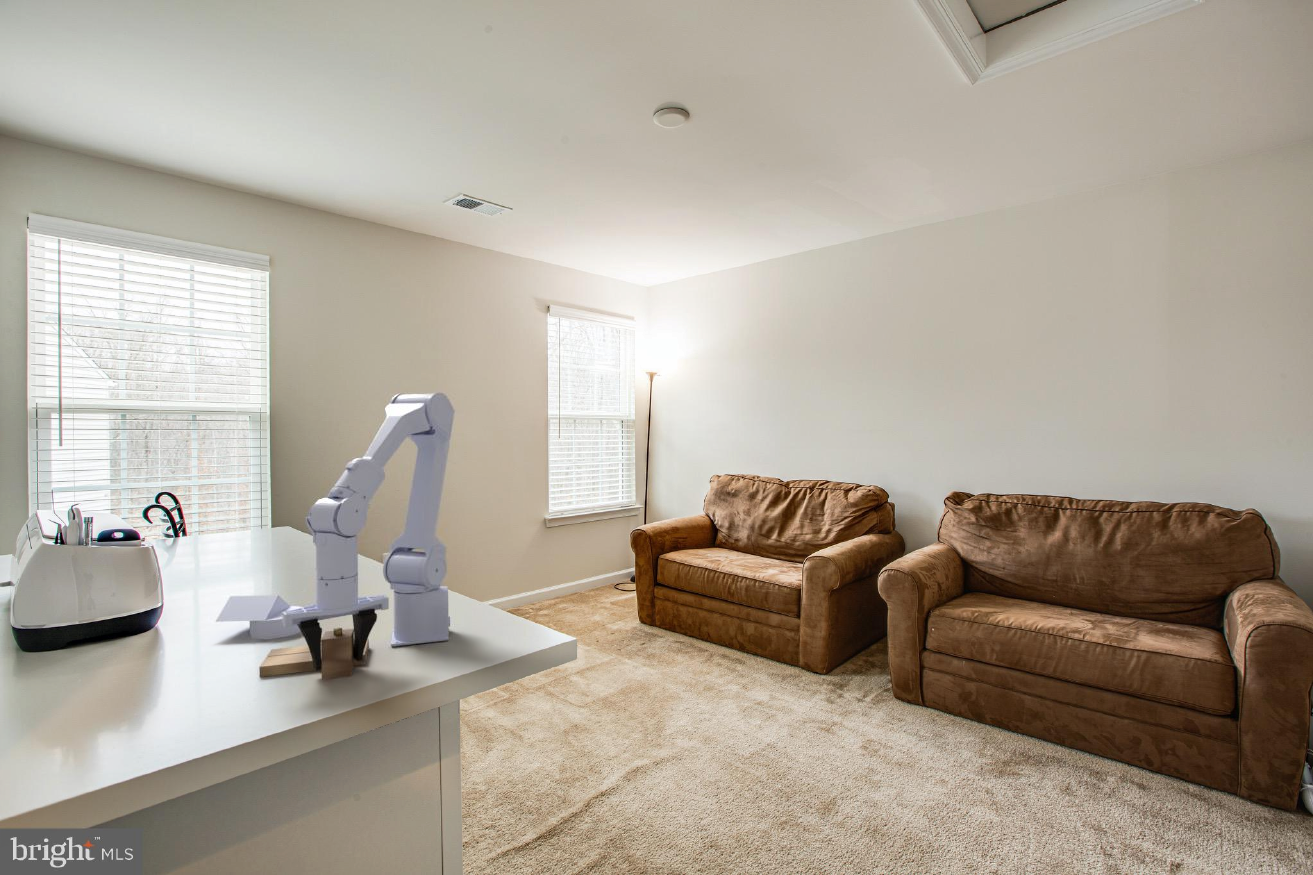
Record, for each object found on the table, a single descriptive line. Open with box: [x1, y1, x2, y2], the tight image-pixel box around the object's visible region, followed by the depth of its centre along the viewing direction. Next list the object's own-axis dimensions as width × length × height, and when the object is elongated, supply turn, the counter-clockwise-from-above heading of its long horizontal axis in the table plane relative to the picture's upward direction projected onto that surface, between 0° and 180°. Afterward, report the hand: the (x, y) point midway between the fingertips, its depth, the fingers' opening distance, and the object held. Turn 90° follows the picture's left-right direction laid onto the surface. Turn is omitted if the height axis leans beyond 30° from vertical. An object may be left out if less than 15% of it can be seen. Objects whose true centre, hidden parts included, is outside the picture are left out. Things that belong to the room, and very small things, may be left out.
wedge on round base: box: [215, 594, 304, 640], centre depth 116 cm, size 9×7×13 cm
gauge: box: [321, 627, 355, 680], centre depth 98 cm, size 4×9×7 cm, turn 21°
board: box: [259, 638, 370, 678], centre depth 101 cm, size 14×8×2 cm, turn 110°
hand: (338, 663), depth 96 cm, fingers closed on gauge, 5 cm apart
